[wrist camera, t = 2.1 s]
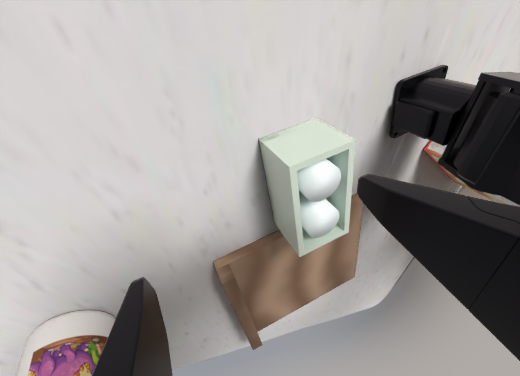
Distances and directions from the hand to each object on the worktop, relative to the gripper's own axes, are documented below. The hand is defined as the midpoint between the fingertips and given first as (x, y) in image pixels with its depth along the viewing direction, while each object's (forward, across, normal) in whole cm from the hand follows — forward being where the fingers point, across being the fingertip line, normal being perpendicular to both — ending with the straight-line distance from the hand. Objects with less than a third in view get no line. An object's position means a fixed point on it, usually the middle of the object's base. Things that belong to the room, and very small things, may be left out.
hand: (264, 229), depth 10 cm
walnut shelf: (+13, -7, +25) cm, 29 cm away
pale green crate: (+13, -8, +9) cm, 18 cm away
